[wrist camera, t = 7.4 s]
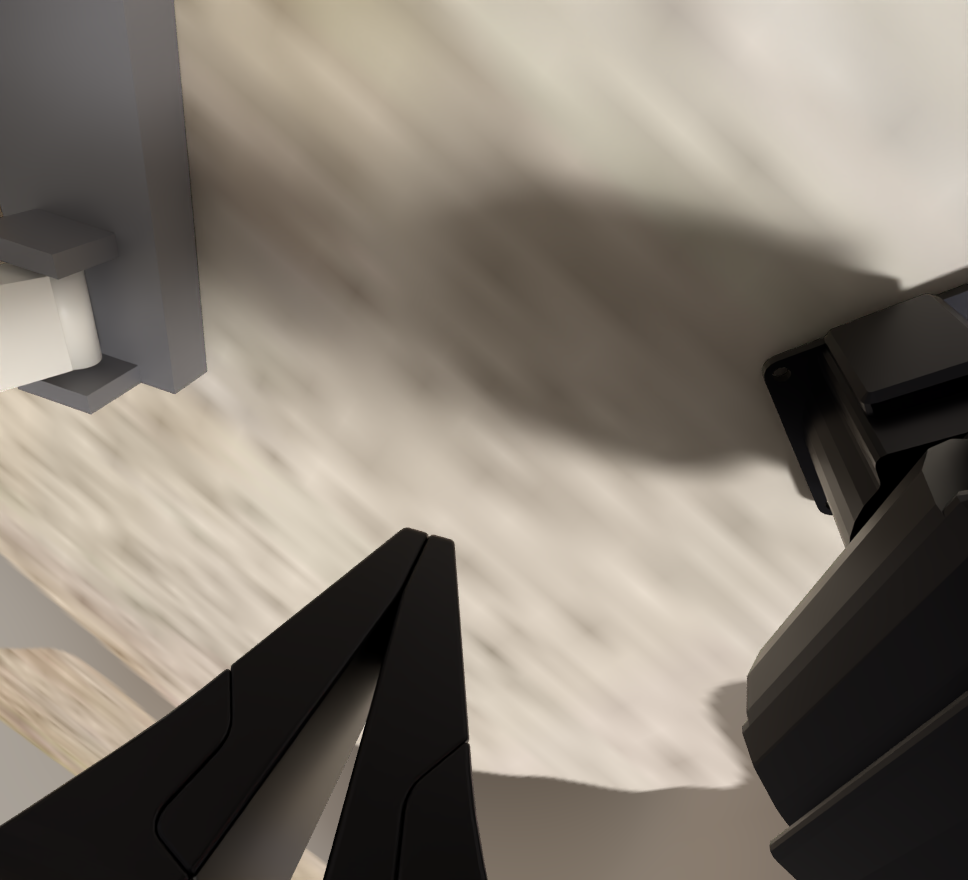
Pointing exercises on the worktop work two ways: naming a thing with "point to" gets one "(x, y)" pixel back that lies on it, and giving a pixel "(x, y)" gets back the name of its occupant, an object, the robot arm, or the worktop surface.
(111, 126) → the switch base
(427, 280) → the worktop surface
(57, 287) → the block
